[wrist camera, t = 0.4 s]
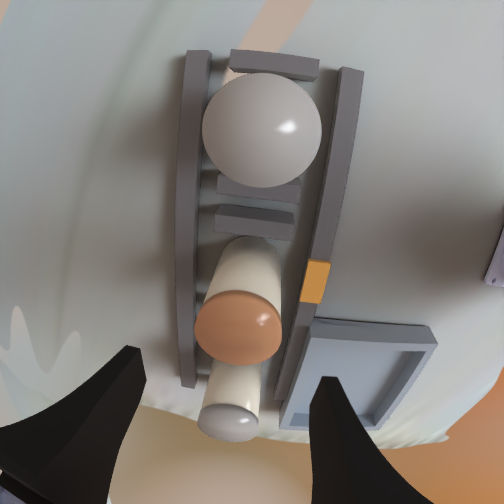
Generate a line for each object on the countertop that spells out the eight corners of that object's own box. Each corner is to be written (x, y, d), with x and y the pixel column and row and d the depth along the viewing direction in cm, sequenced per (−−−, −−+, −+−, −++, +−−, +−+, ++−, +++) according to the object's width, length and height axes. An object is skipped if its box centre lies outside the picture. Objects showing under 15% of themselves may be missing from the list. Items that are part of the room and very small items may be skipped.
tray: (428, 326, 21) (438, 343, 19) (375, 413, 27) (378, 429, 25) (308, 317, 21) (310, 337, 19) (279, 411, 27) (278, 429, 25)
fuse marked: (286, 240, 19) (289, 307, 13) (276, 294, 21) (274, 369, 14) (221, 231, 19) (194, 293, 13) (217, 286, 21) (194, 358, 15)
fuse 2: (266, 344, 23) (261, 418, 17) (260, 376, 25) (253, 444, 18) (215, 337, 23) (196, 408, 17) (213, 370, 25) (197, 436, 19)
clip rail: (361, 74, 14) (371, 69, 12) (287, 393, 26) (287, 410, 24) (191, 53, 14) (181, 47, 12) (184, 378, 26) (179, 394, 24)
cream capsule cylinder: (308, 95, 15) (328, 82, 9) (298, 163, 17) (311, 195, 10) (235, 86, 15) (207, 69, 9) (228, 154, 17) (197, 180, 11)
